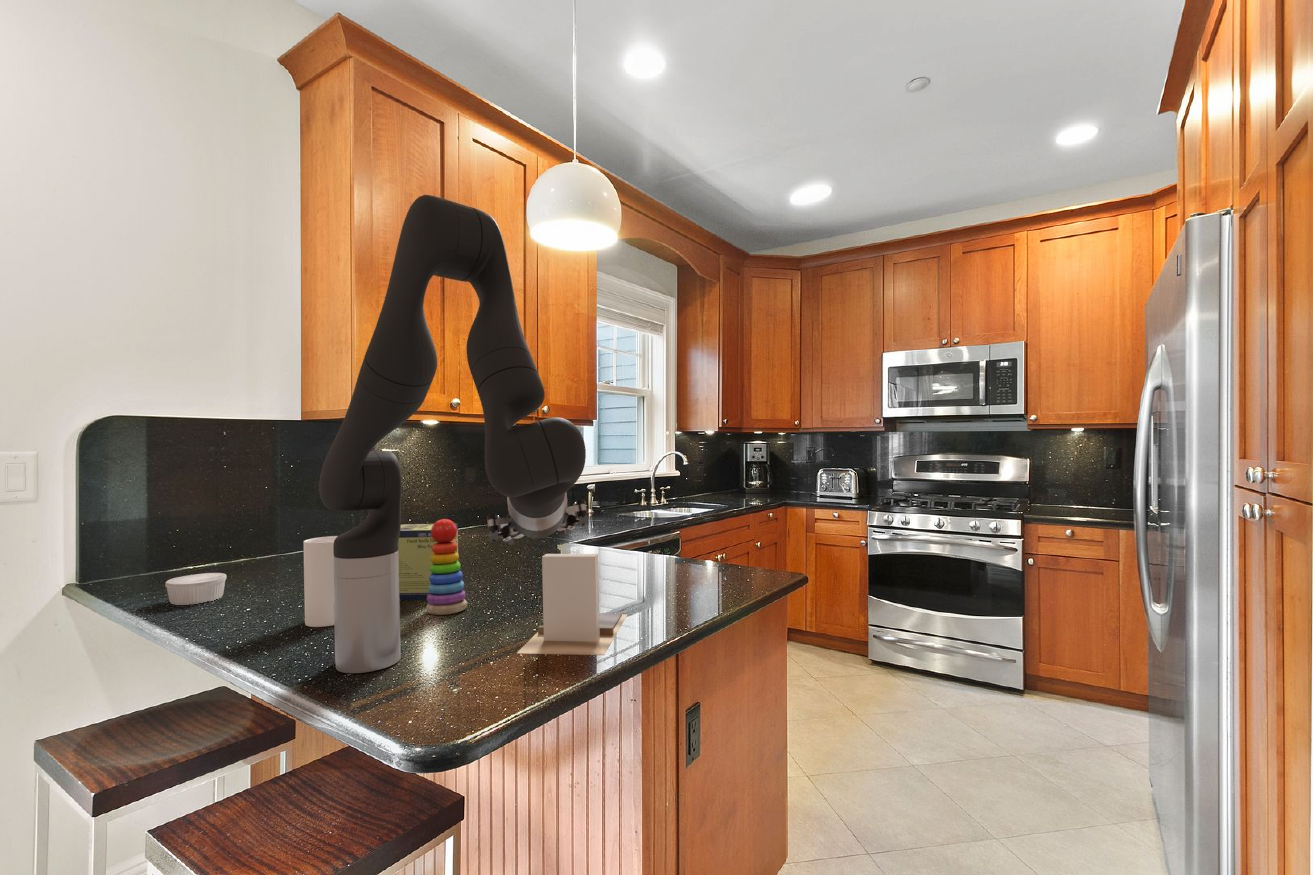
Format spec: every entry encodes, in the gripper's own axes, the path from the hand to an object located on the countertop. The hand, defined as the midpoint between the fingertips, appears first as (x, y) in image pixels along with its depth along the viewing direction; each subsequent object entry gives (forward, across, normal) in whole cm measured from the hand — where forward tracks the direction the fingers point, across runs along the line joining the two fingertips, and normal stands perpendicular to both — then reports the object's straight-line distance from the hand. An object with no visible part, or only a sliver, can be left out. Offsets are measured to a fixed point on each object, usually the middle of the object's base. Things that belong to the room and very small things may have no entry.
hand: (538, 533), depth 95 cm
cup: (+39, +41, 0) cm, 57 cm away
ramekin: (+63, +76, -14) cm, 99 cm away
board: (+17, -4, +15) cm, 23 cm away
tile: (+14, -3, +15) cm, 21 cm away
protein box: (+55, +27, -5) cm, 62 cm away
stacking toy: (+40, +20, +3) cm, 45 cm away
